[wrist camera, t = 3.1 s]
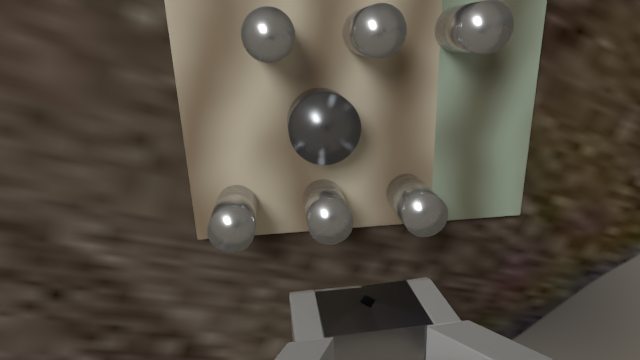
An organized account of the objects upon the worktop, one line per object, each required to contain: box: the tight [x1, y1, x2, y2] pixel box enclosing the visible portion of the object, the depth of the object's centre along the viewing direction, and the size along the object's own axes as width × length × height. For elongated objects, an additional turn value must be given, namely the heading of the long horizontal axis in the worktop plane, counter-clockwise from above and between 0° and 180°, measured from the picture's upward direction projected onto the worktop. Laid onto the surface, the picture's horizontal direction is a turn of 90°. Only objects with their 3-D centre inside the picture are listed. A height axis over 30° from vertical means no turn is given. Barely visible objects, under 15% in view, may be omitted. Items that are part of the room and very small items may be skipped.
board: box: [164, 0, 547, 240], centre depth 29 cm, size 24×16×1 cm, turn 92°
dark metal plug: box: [287, 88, 361, 165], centre depth 27 cm, size 4×4×3 cm
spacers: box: [207, 0, 514, 253], centre depth 26 cm, size 18×14×4 cm
